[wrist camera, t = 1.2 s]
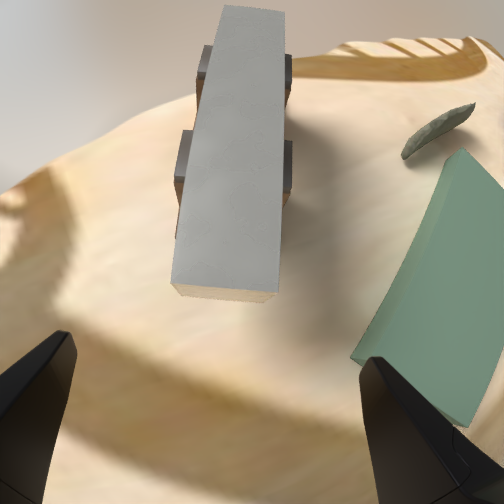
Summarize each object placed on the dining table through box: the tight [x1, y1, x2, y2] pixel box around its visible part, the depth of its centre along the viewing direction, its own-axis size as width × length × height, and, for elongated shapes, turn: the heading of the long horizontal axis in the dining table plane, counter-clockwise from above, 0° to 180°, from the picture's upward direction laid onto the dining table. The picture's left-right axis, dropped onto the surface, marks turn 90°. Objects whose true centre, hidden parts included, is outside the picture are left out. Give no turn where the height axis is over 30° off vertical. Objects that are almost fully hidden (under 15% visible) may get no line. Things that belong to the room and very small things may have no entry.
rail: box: [170, 5, 285, 303], centre depth 16 cm, size 18×4×4 cm, turn 176°
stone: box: [401, 102, 476, 160], centre depth 26 cm, size 13×2×5 cm, turn 125°
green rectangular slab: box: [350, 147, 504, 428], centre depth 23 cm, size 22×12×3 cm, turn 144°
